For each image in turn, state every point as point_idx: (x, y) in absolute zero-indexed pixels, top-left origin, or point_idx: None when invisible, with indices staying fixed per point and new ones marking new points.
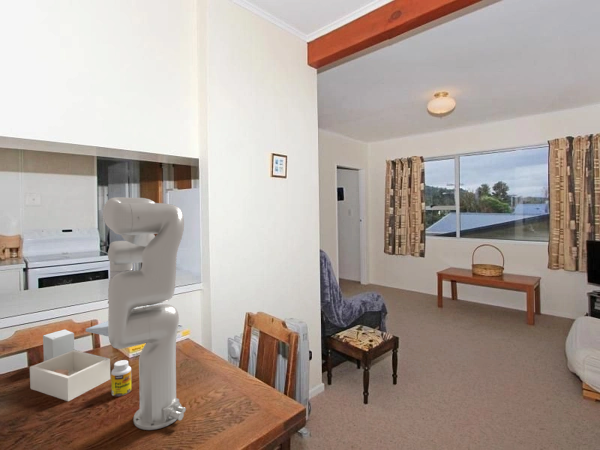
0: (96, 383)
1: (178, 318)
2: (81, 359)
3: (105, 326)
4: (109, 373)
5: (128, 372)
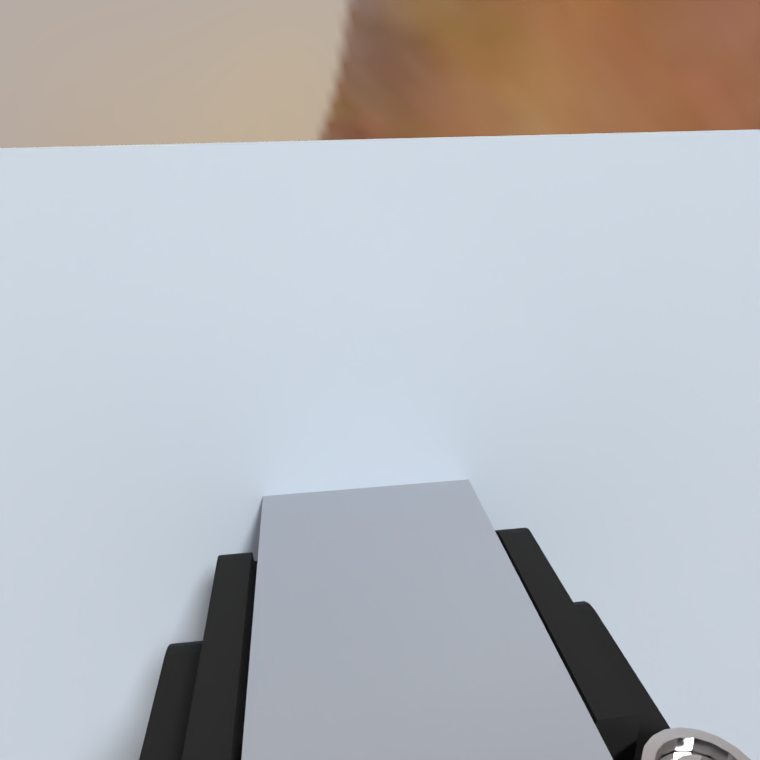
0: None
1: None
2: None
3: (107, 732)
4: None
5: None
